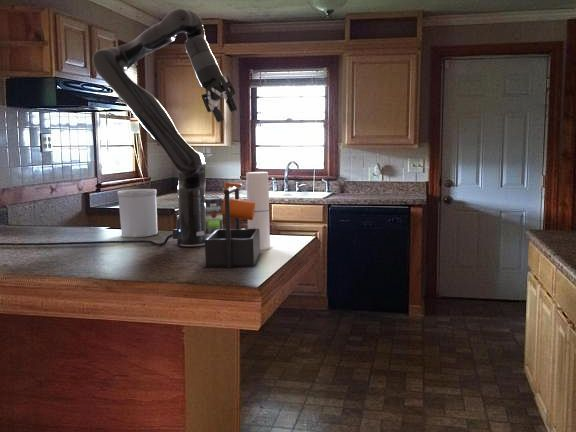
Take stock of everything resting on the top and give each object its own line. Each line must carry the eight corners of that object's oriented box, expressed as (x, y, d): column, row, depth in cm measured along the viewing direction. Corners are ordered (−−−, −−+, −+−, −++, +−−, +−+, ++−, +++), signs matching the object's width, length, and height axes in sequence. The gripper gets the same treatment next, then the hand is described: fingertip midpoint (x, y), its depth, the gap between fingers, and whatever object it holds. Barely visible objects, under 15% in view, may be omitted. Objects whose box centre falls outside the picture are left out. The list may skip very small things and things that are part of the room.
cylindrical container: (267, 250, 207) (265, 172, 204) (245, 249, 208) (243, 173, 205) (272, 246, 214) (270, 171, 211) (251, 246, 215) (249, 172, 212)
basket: (205, 268, 178) (201, 189, 176) (217, 253, 202) (215, 184, 200) (253, 267, 178) (251, 188, 175) (260, 252, 202) (258, 183, 199)
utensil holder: (139, 238, 240) (137, 192, 238) (111, 236, 248) (109, 191, 246) (166, 233, 252) (164, 189, 250) (139, 231, 260) (137, 188, 258)
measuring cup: (251, 221, 186) (220, 217, 186) (253, 219, 191) (223, 215, 191) (256, 186, 185) (224, 182, 185) (257, 185, 190) (227, 181, 190)
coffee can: (227, 234, 245) (226, 198, 243) (201, 236, 240) (200, 199, 239) (217, 231, 254) (216, 196, 253) (192, 233, 249) (191, 197, 248)
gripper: (186, 80, 203) (207, 127, 203) (207, 60, 192) (229, 109, 191) (205, 76, 208) (225, 122, 207) (226, 56, 196) (248, 104, 196)
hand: (227, 116), depth 199 cm, fingers open, 8 cm apart
